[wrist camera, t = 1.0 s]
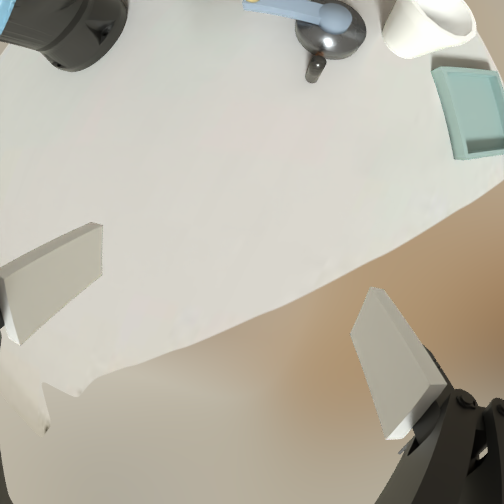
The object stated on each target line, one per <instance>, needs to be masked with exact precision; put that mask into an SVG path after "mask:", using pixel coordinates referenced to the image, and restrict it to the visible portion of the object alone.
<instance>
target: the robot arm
mask: <svg viewBox="0 0 504 504" xmlns="http://www.w3.org/2000/svg"><path fill="white" fill-rule="evenodd" d="M125 21H126V7H125V5H124V3H123V2H122V1H121V0H0V41H1V42H6V43H10V44H14V45H18V46H22V47H26V48H29V49H33V50H36V51H40V52H41V53H42V54H43V55H44V56H45V57H46V58H47V59H48V60H49V61H50V63H52V65H53V66H55V67H56V68H58V69H61V70H64V71H68V72H76V71H80V70H83V69H85V68H87V67H89V66H91V65H92V64H94V63H95V62H97V61H98V60H99V59H100V58H101V57H103V56H104V55H105V54H106V53H107V52H108V51H109V49H110V48H111V47H112V46H113V45H114V43H115V42H116V40H117V39H118V37H119V36H120V34H121V32H122V30H123V27H124V25H125ZM102 237H103V225H101V224H97V223H92V222H90V223H88V224H86V225H84V226H82V227H79V228H77V229H75V230H73V231H71V232H68V233H66V234H64V235H62V236H60V237H58V238H56V239H54V240H52V241H50V242H48V243H46V244H44V245H42V246H40V247H38V248H36V249H34V250H32V251H30V252H28V253H26V254H24V255H22V256H20V257H19V258H17V259H15V260H13V261H11V262H9V263H8V264H6V265H4V266H2V267H1V268H0V328H2V327H3V326H4V325H5V328H6V332H7V335H8V338H9V339H11V340H12V341H14V342H15V343H17V344H18V345H20V346H21V345H22V344H23V343H24V342H25V341H26V340H27V339H28V338H29V337H30V336H32V335H33V334H34V333H35V332H36V331H37V330H38V329H39V328H40V327H41V326H43V325H44V324H45V323H46V322H47V321H48V320H49V319H50V318H52V317H53V316H54V315H55V314H56V313H57V312H58V311H60V310H61V309H62V308H63V307H64V306H65V305H67V304H68V303H69V302H70V301H71V300H73V299H74V298H75V297H76V296H77V295H79V294H80V293H81V292H82V291H83V290H85V289H86V288H87V287H88V286H90V285H91V284H92V283H93V282H95V281H96V280H97V279H98V278H100V277H101V276H102ZM350 335H351V338H352V341H353V344H354V346H355V349H356V352H357V354H358V357H359V360H360V363H361V366H362V369H363V371H364V374H365V377H366V380H367V383H368V386H369V389H370V392H371V395H372V398H373V401H374V404H375V407H376V410H377V413H378V417H379V420H380V423H381V426H382V430H383V433H384V436H385V439H386V440H390V439H402V438H404V437H405V435H406V434H407V433H408V432H409V431H410V430H411V429H412V428H413V431H414V433H415V436H414V437H413V438H412V439H411V440H410V441H409V442H408V443H407V444H406V445H405V446H404V447H403V448H402V449H401V450H400V451H399V452H398V454H401V453H402V452H403V451H405V452H404V454H403V456H402V458H401V460H400V462H399V463H398V465H397V467H396V469H395V471H394V473H393V474H392V476H391V478H390V480H389V481H388V483H387V485H386V487H385V488H384V490H383V491H382V493H381V494H380V496H379V498H378V499H377V501H376V502H375V504H504V400H502V399H500V398H495V399H493V400H492V401H491V402H490V404H489V405H488V406H487V407H486V408H485V407H480V406H478V404H477V402H476V400H475V399H474V397H473V396H472V395H470V394H469V393H468V392H466V391H464V390H462V389H455V390H454V388H453V386H452V385H451V383H450V381H449V380H448V378H447V376H446V375H445V373H444V372H443V370H442V369H440V365H439V364H438V362H436V359H435V358H434V356H433V354H432V353H431V352H430V351H429V350H428V349H427V348H426V347H425V346H424V345H423V344H422V343H421V342H420V341H419V339H418V337H417V336H416V334H415V333H414V331H413V330H412V329H411V327H410V326H409V324H408V323H407V321H406V320H405V318H404V317H403V316H402V314H401V313H400V311H399V310H398V309H397V307H396V306H395V304H394V303H393V302H392V300H391V299H390V298H389V296H388V295H387V293H386V292H385V291H384V290H383V289H379V288H374V287H370V289H369V291H368V293H367V296H366V298H365V301H364V303H363V306H362V308H361V311H360V313H359V315H358V317H357V320H356V322H355V324H354V326H353V329H352V331H351V333H350ZM1 338H2V337H1V332H0V346H1ZM486 447H488V453H487V454H486V455H485V456H484V457H483V458H482V459H479V454H480V453H481V452H482V451H483V450H484V449H485V448H486ZM0 504H13V503H12V501H11V499H10V497H9V495H8V491H7V487H6V482H5V477H4V472H3V466H2V460H1V452H0Z"/></svg>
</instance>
